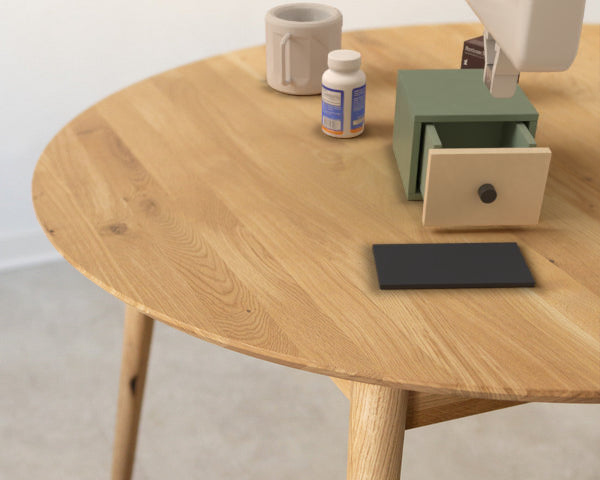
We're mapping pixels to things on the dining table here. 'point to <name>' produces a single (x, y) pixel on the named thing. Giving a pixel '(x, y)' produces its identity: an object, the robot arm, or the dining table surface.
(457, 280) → the mat
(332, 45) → the mug
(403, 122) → the cabinet
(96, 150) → the dining table surface
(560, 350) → the dining table surface
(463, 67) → the box
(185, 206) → the dining table surface
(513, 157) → the drawer
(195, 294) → the dining table surface
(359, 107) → the pill bottle
